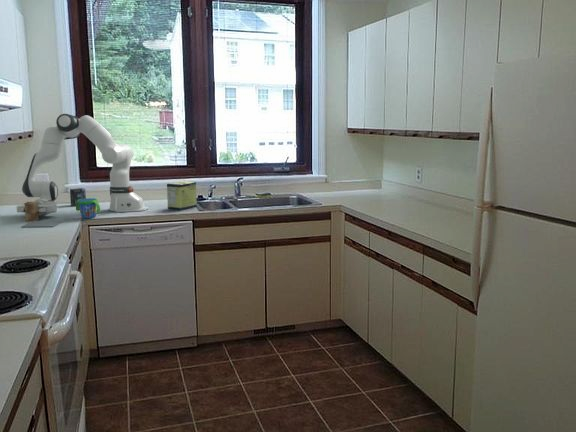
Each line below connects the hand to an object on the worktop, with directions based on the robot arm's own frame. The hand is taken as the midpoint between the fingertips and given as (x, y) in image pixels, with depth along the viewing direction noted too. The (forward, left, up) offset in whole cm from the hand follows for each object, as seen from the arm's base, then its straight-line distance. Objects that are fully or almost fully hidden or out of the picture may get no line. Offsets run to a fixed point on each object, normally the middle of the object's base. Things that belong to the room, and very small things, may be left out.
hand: (31, 210), depth 304 cm
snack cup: (-28, -8, -6) cm, 30 cm away
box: (-9, -50, -6) cm, 51 cm away
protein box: (-76, -37, -6) cm, 85 cm away
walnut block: (0, -1, -6) cm, 6 cm away
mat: (-10, +11, -6) cm, 16 cm away
